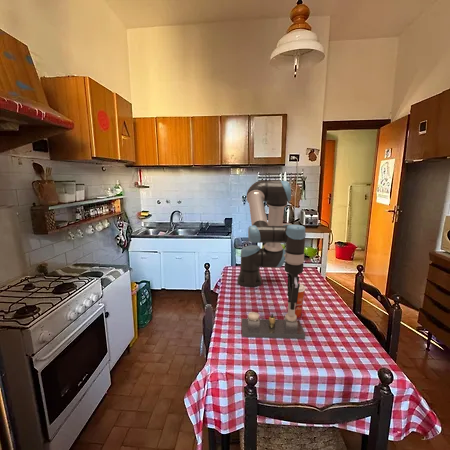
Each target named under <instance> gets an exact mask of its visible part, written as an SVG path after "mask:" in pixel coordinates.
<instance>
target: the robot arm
mask: <svg viewBox="0 0 450 450" xmlns="http://www.w3.org/2000/svg"><path fill="white" fill-rule="evenodd" d="M291 188H292V187H291V185H290V182H289V181H287V180H278V179H277V180H274V179H273V180H258V181H255V182H254V183H252V184H251V186H250V187H249V188H248V189H247V191H246V200H247V203H248V206H249V213H250V222H251V225H249V226H248V227H247V228H248V229H247V235H248V236H247V237H248V242H250V243H257V244H258V243H259V244H260V243H261V244H262V243H264V245H263V247H262V248H261V247H260V246H259V245H257V244H254V245H253V244H252V245H246V246H244V247H242V248H241V249H240V251H241V252H240V271H239V274H238V276H237V284H238V285H240V286H242V287H246V288H256V287H260V286H261V285H262V281H263V280H262V277H261V274H260V273H261V272H260V268H274V269H275V268H281V267H283V266H284V271H285V272H286V273H287V274H286V275H287V287H288V288H287V294H286V295H287V303H288V304H287V313H288V316H295V303H297V299H298V291H299V287H300V284H301V283H299V282H300V277H299V275H300V274H302V273H304V262H305V248H306V247H305V246H306V236H307V234H306V226H304V225H300V224H283V223H284V214H285V213H284V212H285V211H284V209H285V207H287V206H288V203H289V202H291V201H292V189H291ZM265 202H266V205H267V206H268V217H267V212H266V207H265ZM284 243H285V249H284V248H283V247H284V246H283V245H281V244H284ZM298 283H299V284H298ZM288 299H289V300H288Z"/></svg>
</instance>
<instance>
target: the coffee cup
mask: <svg viewBox="0 0 450 450" xmlns="http://www.w3.org/2000/svg"><path fill="white" fill-rule="evenodd" d="M298 284H300V287H299V291H298V299H297V303H295V315H296V316H297V319H299V318H301V316H302V311H303V305H304V304H303V303H304V298H305V297H304V295H305V291H306V288H305V285H303V284H302V283H299V282H298ZM287 289H288V286H287ZM288 300H289V299H288V298H287V301H288Z"/></svg>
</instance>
